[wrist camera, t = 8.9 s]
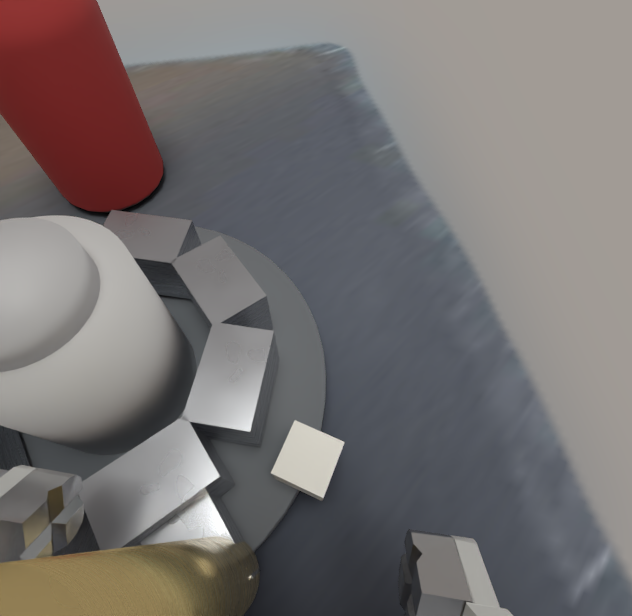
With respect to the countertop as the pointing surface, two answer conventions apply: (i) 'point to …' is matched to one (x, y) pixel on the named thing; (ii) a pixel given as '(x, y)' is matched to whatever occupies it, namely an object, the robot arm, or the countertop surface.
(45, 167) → the beer can
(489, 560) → the countertop surface
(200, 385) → the gear with peg
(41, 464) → the flange base
